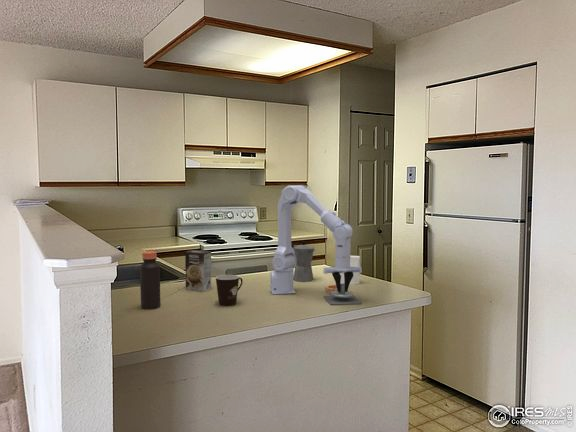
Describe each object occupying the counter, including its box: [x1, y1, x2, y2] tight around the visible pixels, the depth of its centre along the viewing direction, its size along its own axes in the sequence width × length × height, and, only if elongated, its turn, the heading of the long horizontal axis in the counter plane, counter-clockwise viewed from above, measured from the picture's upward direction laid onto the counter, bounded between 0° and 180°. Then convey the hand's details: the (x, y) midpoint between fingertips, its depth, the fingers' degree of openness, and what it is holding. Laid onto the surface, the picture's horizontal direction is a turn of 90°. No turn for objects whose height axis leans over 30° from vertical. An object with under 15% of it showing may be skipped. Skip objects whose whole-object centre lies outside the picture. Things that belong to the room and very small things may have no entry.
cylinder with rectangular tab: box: [339, 255, 361, 286], centre depth 204 cm, size 9×9×12 cm
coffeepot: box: [291, 240, 316, 283], centre depth 210 cm, size 15×9×18 cm, turn 44°
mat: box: [323, 294, 363, 306], centre depth 175 cm, size 12×12×1 cm
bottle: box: [139, 250, 162, 310], centre depth 165 cm, size 7×7×20 cm
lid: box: [330, 283, 354, 298], centre depth 175 cm, size 8×8×4 cm
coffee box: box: [184, 249, 212, 293], centre depth 191 cm, size 9×6×16 cm
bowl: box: [324, 284, 337, 296], centre depth 186 cm, size 8×8×2 cm
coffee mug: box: [215, 274, 243, 307], centre depth 170 cm, size 12×9×10 cm
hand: (342, 291), depth 175 cm, fingers closed on lid, 2 cm apart
